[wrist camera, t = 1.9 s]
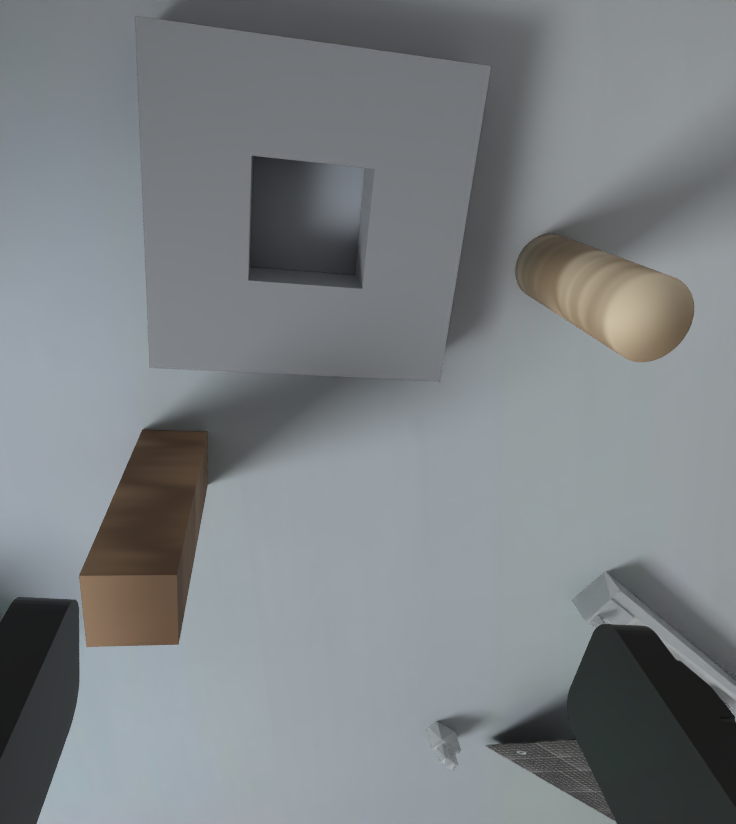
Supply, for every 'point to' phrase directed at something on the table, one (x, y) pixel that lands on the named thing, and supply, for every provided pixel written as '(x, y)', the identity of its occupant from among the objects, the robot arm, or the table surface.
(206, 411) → the table surface
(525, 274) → the beech dowel
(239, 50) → the bore plate
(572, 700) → the robot arm
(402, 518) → the table surface
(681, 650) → the paper cutter
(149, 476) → the walnut bar
